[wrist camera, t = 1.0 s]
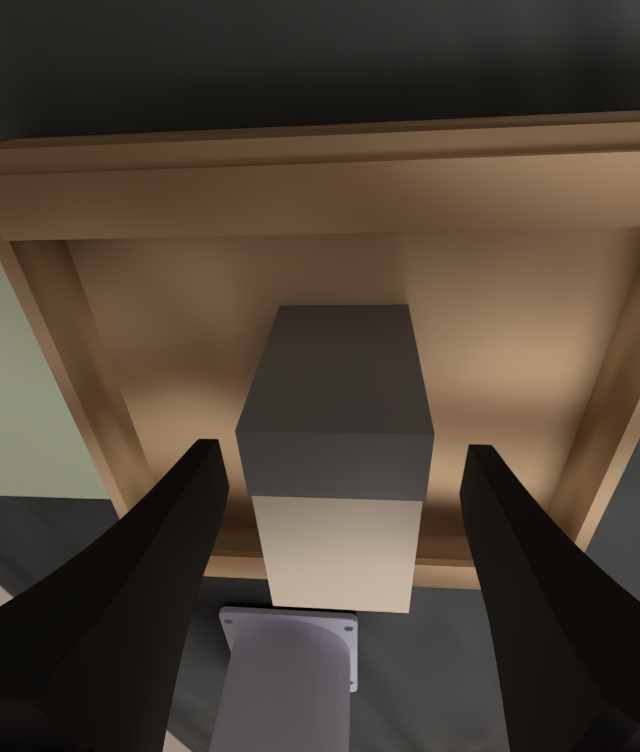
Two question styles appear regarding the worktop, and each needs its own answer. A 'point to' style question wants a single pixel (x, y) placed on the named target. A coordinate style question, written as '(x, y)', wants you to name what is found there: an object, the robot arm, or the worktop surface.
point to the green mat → (36, 418)
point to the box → (338, 456)
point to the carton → (343, 294)
